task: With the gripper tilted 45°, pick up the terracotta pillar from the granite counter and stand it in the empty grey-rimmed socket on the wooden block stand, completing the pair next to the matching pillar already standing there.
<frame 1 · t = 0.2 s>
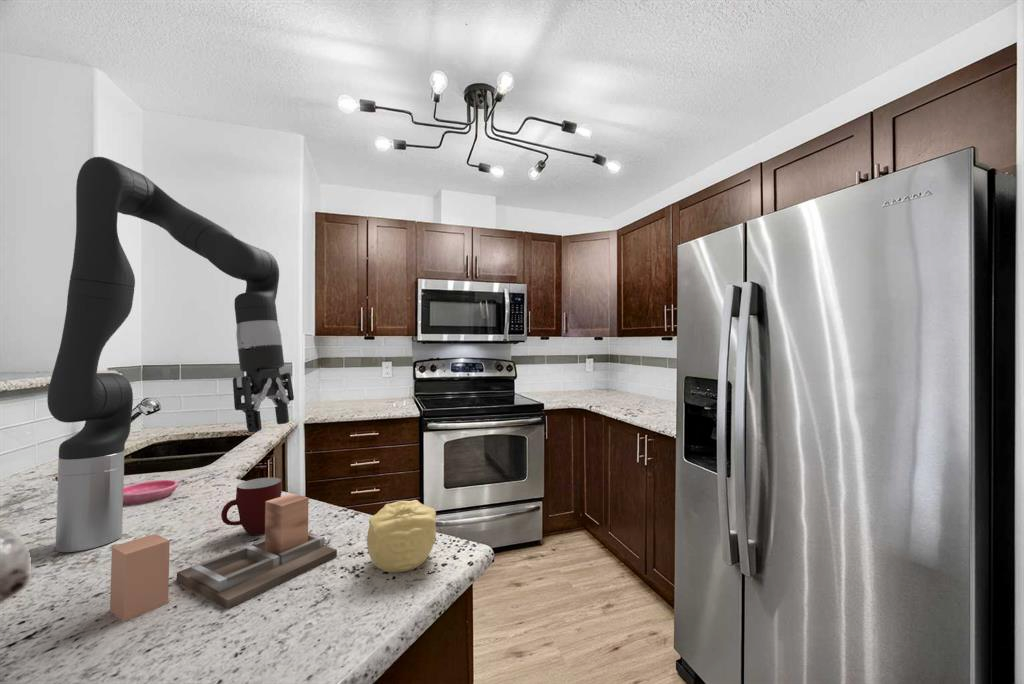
hand: (269, 427, 81), 22 cm above the countertop, tool pointing down, fingers open, 8 cm apart
saucer: (147, 499, 108), on the countertop
mug: (252, 534, 85), on the countertop
wooden block stand: (261, 567, 71), on the countertop
sculpture: (401, 564, 72), on the countertop
pillar: (139, 606, 60), on the countertop
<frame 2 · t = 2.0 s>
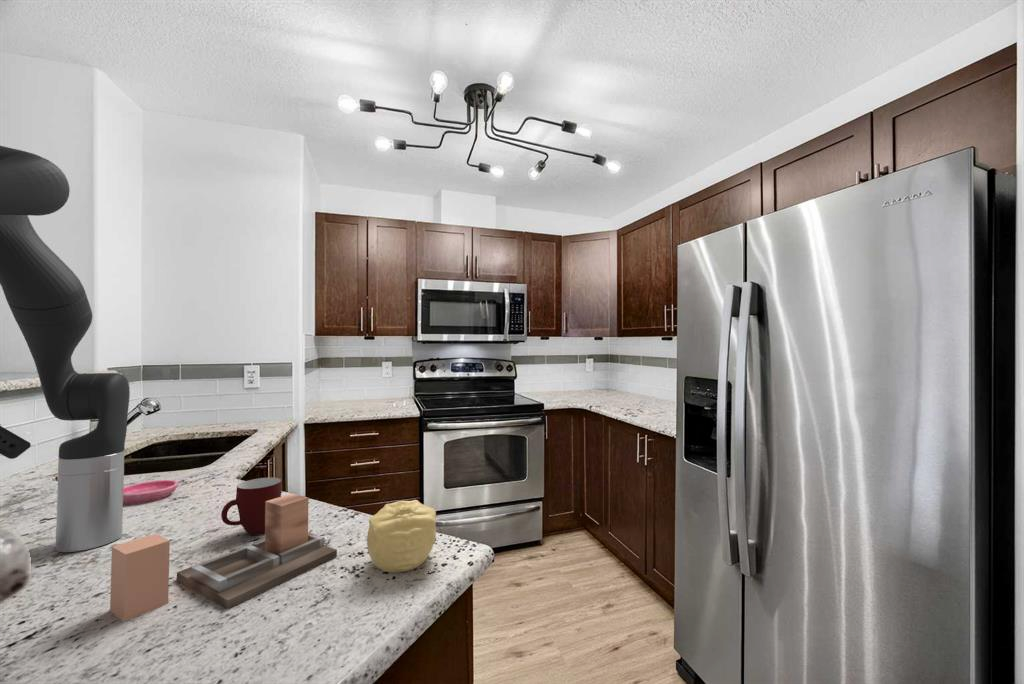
hand: (12, 448, 52), 25 cm above the countertop, tool tilted 45°, fingers open, 8 cm apart
nothing on the countertop moved.
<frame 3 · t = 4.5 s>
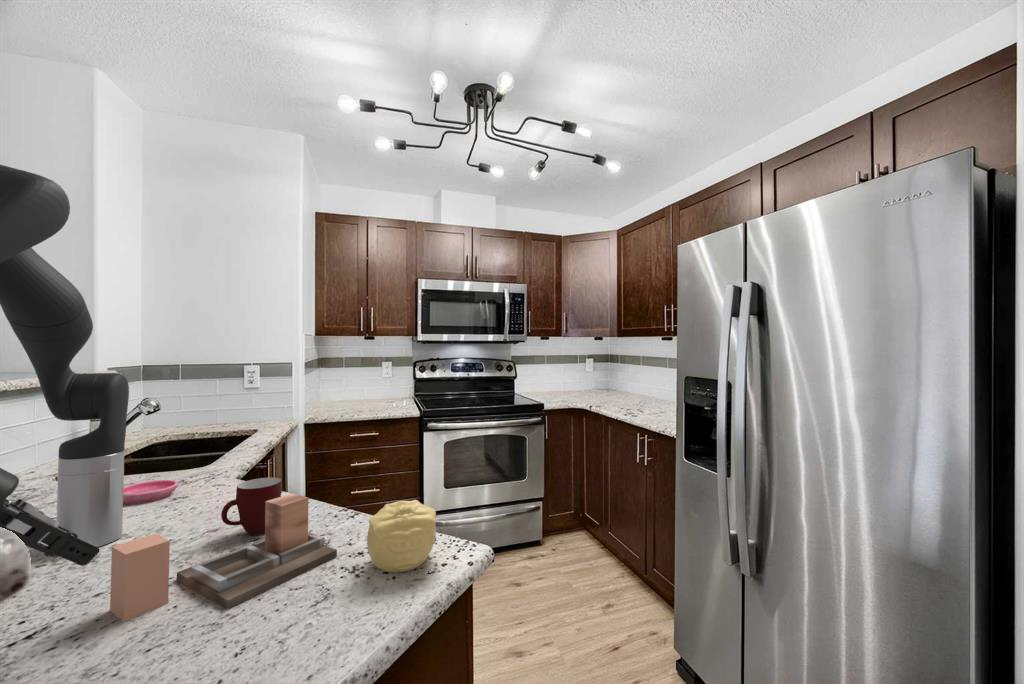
hand: (81, 550, 55), 10 cm above the countertop, tool tilted 45°, fingers open, 8 cm apart
nothing on the countertop moved.
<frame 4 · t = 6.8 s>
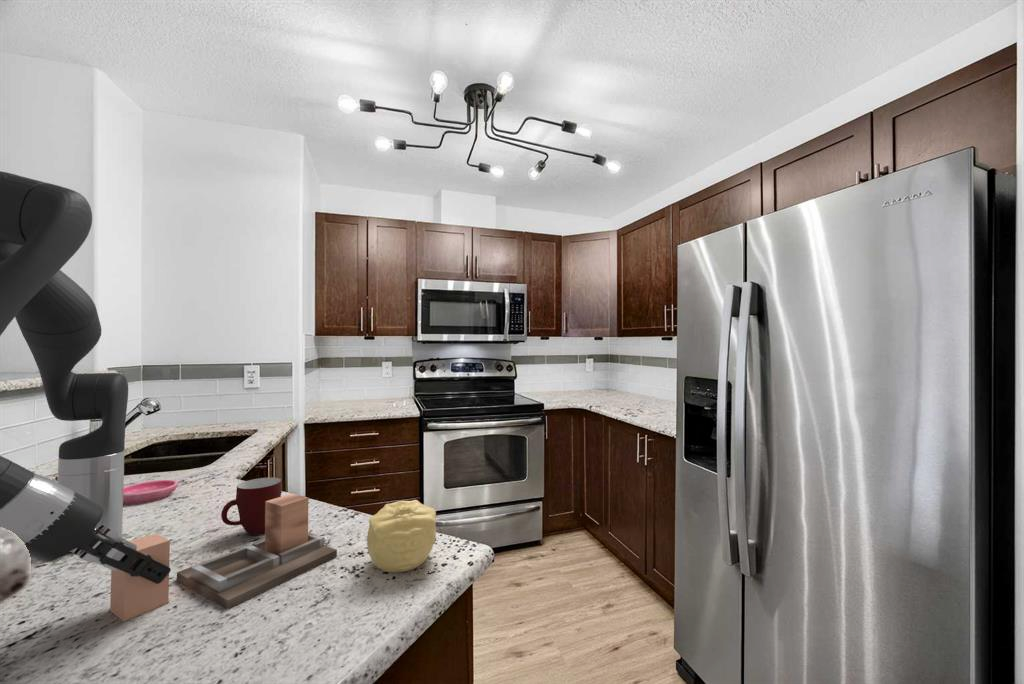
hand: (156, 571, 62), 4 cm above the countertop, tool tilted 45°, fingers closed on pillar, 5 cm apart
pillar: (139, 606, 60), on the countertop, touching gripper
everything else where it was.
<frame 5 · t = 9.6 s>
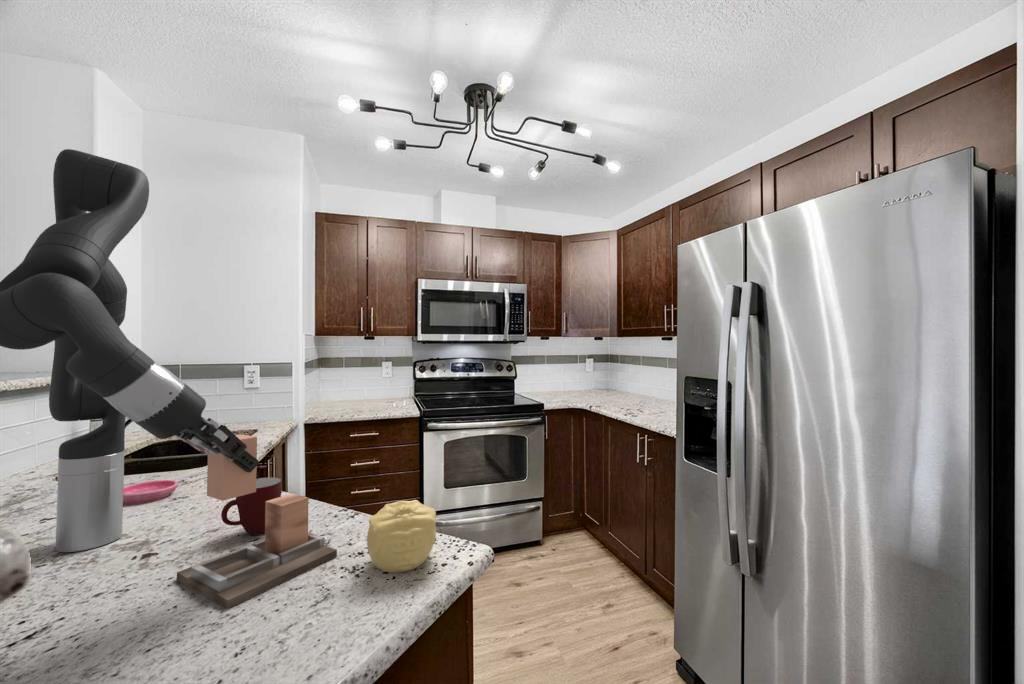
hand: (244, 465, 69), 18 cm above the countertop, tool tilted 45°, fingers closed on pillar, 5 cm apart
pillar: (231, 493, 68), point 14 cm above the countertop, touching gripper
everything else where it was.
when the fingers open (7 cm above the countertop, at t = 12.7 s): pillar drops 2 cm, resting on wooden block stand.
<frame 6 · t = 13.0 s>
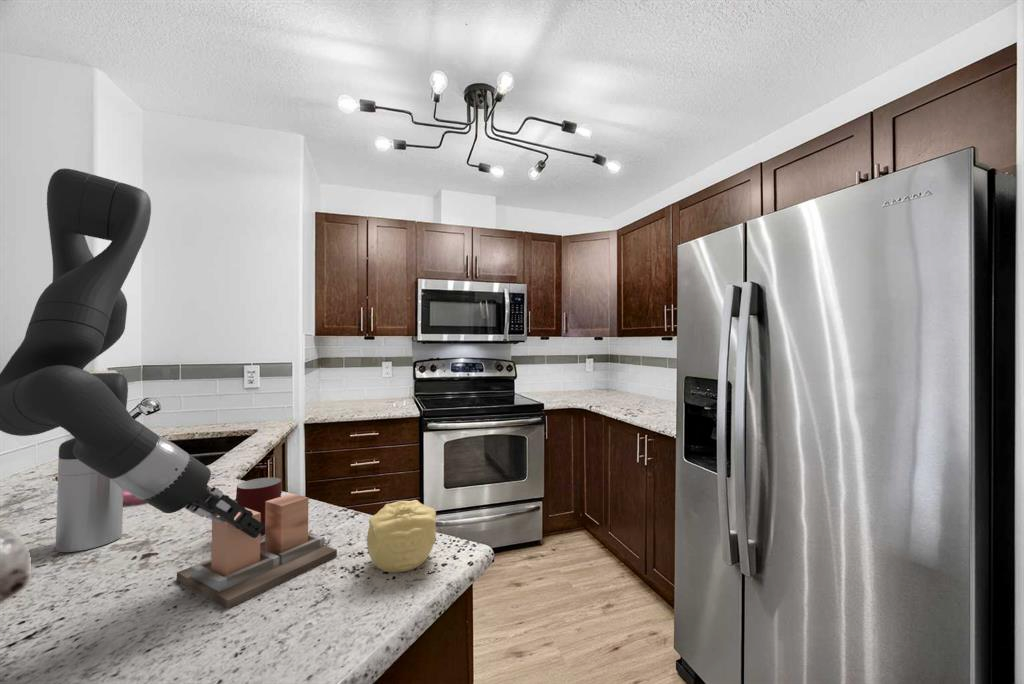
hand: (246, 527, 69), 8 cm above the countertop, tool tilted 45°, fingers open, 7 cm apart
pillar: (235, 571, 68), point 1 cm above the countertop, touching wooden block stand
everything else where it was.
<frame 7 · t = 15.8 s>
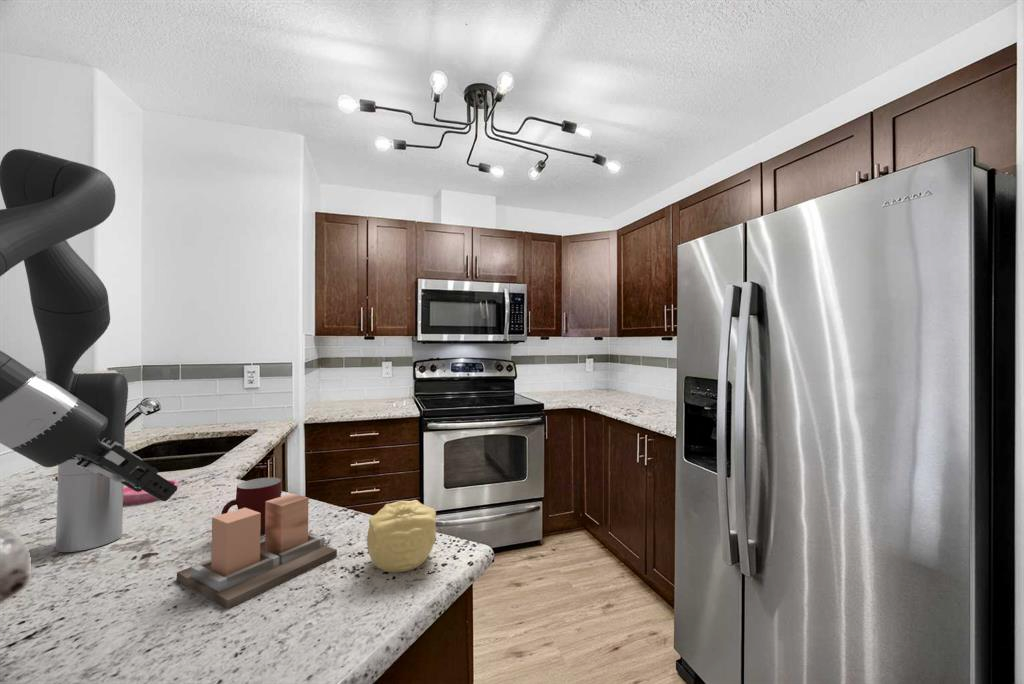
hand: (157, 490, 59), 17 cm above the countertop, tool tilted 45°, fingers open, 8 cm apart
nothing on the countertop moved.
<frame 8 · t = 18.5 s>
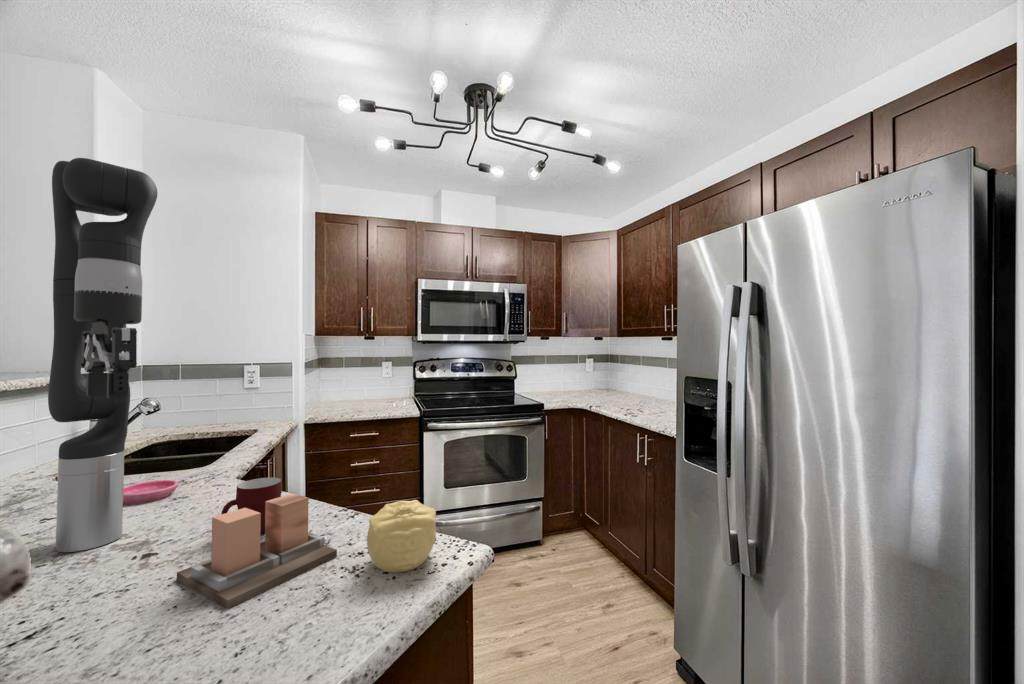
hand: (106, 397, 64), 30 cm above the countertop, tool pointing down, fingers open, 8 cm apart
nothing on the countertop moved.
at the end: pillar 0.1 cm from the target spot on the wooden block stand, point 1.2 cm above the wooden block stand's base; pillar tilted 0°; the gripper is holding nothing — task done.
